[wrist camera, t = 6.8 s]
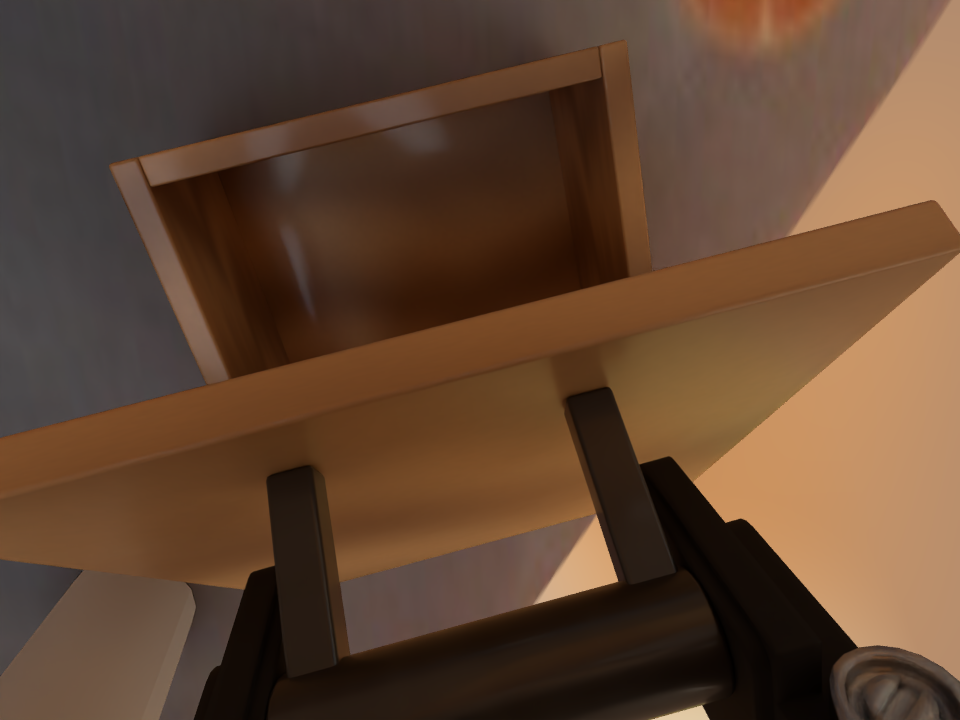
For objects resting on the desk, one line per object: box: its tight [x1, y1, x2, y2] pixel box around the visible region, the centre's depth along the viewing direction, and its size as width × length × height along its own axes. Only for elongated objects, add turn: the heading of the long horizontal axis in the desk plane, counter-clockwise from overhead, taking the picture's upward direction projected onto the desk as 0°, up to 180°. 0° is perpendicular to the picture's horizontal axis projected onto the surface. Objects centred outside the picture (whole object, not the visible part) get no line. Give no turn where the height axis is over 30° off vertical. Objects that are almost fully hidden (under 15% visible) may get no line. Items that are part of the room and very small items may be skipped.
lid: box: [0, 200, 960, 720], centre depth 13 cm, size 15×14×5 cm
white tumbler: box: [0, 570, 196, 720], centre depth 25 cm, size 7×7×10 cm
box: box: [109, 40, 652, 385], centre depth 22 cm, size 14×14×7 cm
